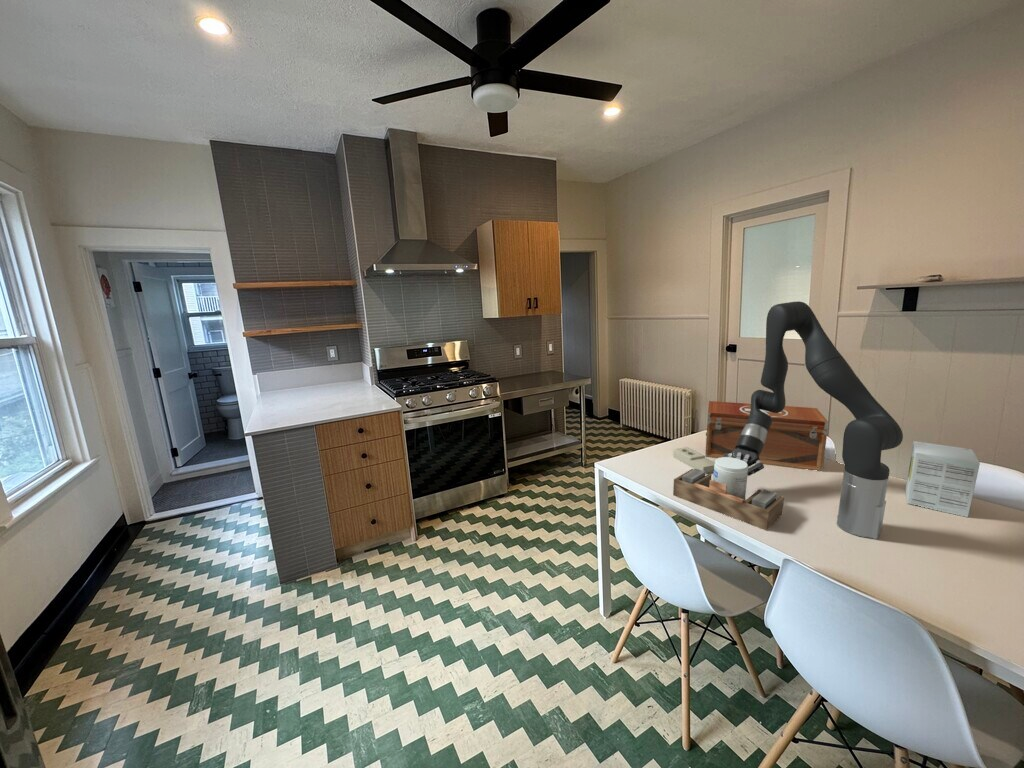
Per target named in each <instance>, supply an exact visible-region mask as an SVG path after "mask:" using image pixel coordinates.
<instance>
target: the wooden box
mask: <svg viewBox="0 0 1024 768" xmlns="http://www.w3.org/2000/svg"><path fill="white" fill-rule="evenodd" d="M707 410H708V411H707V422H706V432H705V436H706V439H705V455H704V456H705V458H709V459H710V458H711V459H717V458H721V457H724V453H727V454H729V453H732V451H733V450H734V449H735V447H736V444H737V442H738V440H739V437H740V435H741V433H742V430H743V429H744V427H745V425H746V423H747V420H748V418H749V415H750V410H751V403H747V402H746V403H745V402H743V403H742V402H731V401H714V400H709V401H708V409H707ZM759 410H760V411H762V412H764V413H766V414H768V415H769V416H770V417H771V418H772V423H771V426H770V428H769V430H768V433H767V438H766V441H765V443H764V446H763V448H762V451H761V453H760V455H759V459H760V460H759V461H760V462H762V463H763V465H766V466H774V467H782V468H783V467H784V468H792V469H797V470H805V469H808V470H807V471H813V470H817V471H816V472H821V471H822V472H823V471H824V470H823V469H824V464H825V463H824V461H825V454H826V453H825V452H826V445H827V439H828V438H827V437H828V429H829V421H828V420H827V418H826V417H825V416H824V414H823V413H822V412H821V411H820V410H819V409H818V408H817V407H807V406H791V405H789V406H788V405H785V408H784V409H783V410H782V411H781V412H779V413H773V412H769V411H765V410H761V409H759ZM732 458H733V457H732Z"/></svg>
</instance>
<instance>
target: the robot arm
mask: <svg viewBox="0 0 1024 768" xmlns="http://www.w3.org/2000/svg"><path fill="white" fill-rule="evenodd" d="M791 331H794V332H796V333H797V335H798V336H799V337H800V339H801V340H802V342H803V344H804V348H805V355H804V363H805V368H806V370H807V372H808V373H809V375H810V376H811V378H812V380H813V381H814V383H815V384H816V385H817V386H818V387H819V388H820V389H821V390H822V391H824V392H825V393H826V394H828V395H829V396H831V398H834V399H835V400H836V401H838V402H839V403H841V404H842V405H843V406H845V407H846V408H847V410H849V412H850V413H851V414H852V416H853V417H854V420H851V421H850V422H848V423H847V424H846V426H845V429H844V432H843V437H842V451H841V452H842V453H841V457H842V462H843V463H844V467H843V476H842V482H841V488H840V489H841V490H840V496H839V497H840V498H839V505H838V511H837V512H838V513H837V516H836V517H837V519H836V525H837V526H838V528H840V529H842V530H843V531H845V532H847V533H849V534H852V535H854V536H858V537H863V538H871V539H874V540H878V538H879V536H880V534H881V533H882V528H883V522H884V516H885V512H886V511H885V510H886V506H887V505H886V504H887V501H886V496H887V489H888V485H889V479H890V467H889V466H888V465H887V464H885V463H883V462H882V461H881V460H882V451H886V450H891V449H895V448H897V447H898V446H900V445H901V444H902V442H903V439H904V434H903V430H902V427H900V425H899V424H898V422H897V421H896V420H895V418H893V416H891V414H890V413H889V412H888V411H887V410H886V409H885V408H884V407H883V406H882V405H881V403H879V402H878V401H877V400H876V398H875V397H874V396H873V395H872V394H871V392H870V391H869V390H868V388H867V387H866V386H865V384H864V383H863V382H862V381H861V380H860V378H859V377H858V376H857V374H856V373H855V371H854V370H853V368H852V367H851V366H850V364H849V363H848V362H847V360H846V358H844V356H843V355H842V354H841V353H840V351H839V350H838V349H837V347H836V346H835V344H834V343H833V341H831V339H830V337H829V336H828V335H827V333H826V332H825V330H824V329H823V327H822V325H821V323H820V322H819V320H818V318H817V316H816V314H815V313H814V311H813V309H812V308H811V307H810V306H809V304H807V303H805V302H804V301H789V302H784V303H783V302H782V303H781V302H780V303H777V304H774V305H773V306H771V307H770V309H769V310H768V312H767V315H766V324H765V357H764V362H763V363H764V365H763V369H762V372H761V377H760V385H761V386H762V387H764V388H767V389H769V390H770V391H768V390H764V389H757V390H755V391H753V393H752V394H751V397H750V404H751V410H750V415H749V418H748V420H747V423H746V425H745V427H744V429H743V430H742V433H741V435H740V437H739V440H738V442H737V444H736V447H735V449H734V450H733V451H732V453H729V454H727V453H724V457H731V458H732V457H733V458H736V459H740V460H742V461H744V462H746V463H747V465H748V475H747V477H751V476H752V475H754V474H756V473H758V472H759V471H761V470H763V469H765V464H763V463H762V462H760V461H759V460H760V459H759V455H760V453H761V451H762V448H763V446H764V443H765V441H766V438H767V433H768V430H769V428H770V426H771V423H772V418H771V417H770V416H769V415H768V414H766V413H764V412H762V411H760V410H759V409H761V410H765V411H769V412H773V413H779V412H781V411H782V410H783V409H784V408H785V406H786V394H785V383H786V377H787V374H788V370H789V361H788V358H787V356H786V353H785V349H784V346H783V345H784V344H783V343H784V338H785V335H786V332H791Z"/></svg>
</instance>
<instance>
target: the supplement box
mask: <svg viewBox="0 0 1024 768" xmlns="http://www.w3.org/2000/svg"><path fill="white" fill-rule="evenodd" d="M911 447H912V448H911V455H910V461H909V466H908V471H907V472H908V473H907V477H906V485H905V499H906V498H907V500H906V504H907V503H910V504H914V505H913V506H915V505H918V506H917V507H919V506H921V508H924V507H925V508H924V509H928V508H930V509H929V510H932V509H934V510H933V511H937V510H938V511H937V512H941V511H942V512H941V513H946V514H950V513H951V515H955V514H956V516H959V515H961V516H960V517H963V516H965V517H964V518H969V514H970V511H971V505H972V500H973V496H974V491H975V488H976V484H977V480H978V479H977V478H978V474H979V469H980V465H981V463H980V461H979V458H978V457H977V455H976V453H975V451H974V450H973V449H971V448H965V447H959V446H958V447H957V446H952V445H945V444H944V445H943V444H938V443H930V442H924V441H916V440H913V442H912V446H911ZM910 504H909V505H910Z"/></svg>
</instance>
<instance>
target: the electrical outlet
mask: <svg viewBox="0 0 1024 768" xmlns="http://www.w3.org/2000/svg"><path fill="white" fill-rule="evenodd" d="M672 456H673V458H674V459H675V460H677V461H679V462H680V463H681V462H682V463H683V464H685V465H687V466H689V467H690V468H691V469H695V468H696V469H699V470H702V471H705V474H711V473H714V465H715V461H713V460H711V459H710V458H708V457H705V455H704V454H703V453H700V452H698V451H696V450H695V449H692V448H691V447H688V446H685V447H679V448H674V449H673V455H672Z"/></svg>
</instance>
